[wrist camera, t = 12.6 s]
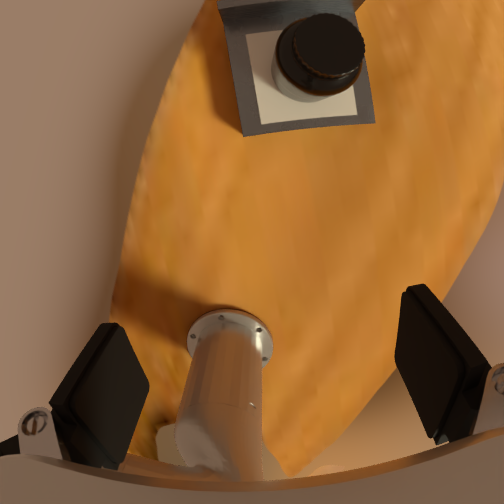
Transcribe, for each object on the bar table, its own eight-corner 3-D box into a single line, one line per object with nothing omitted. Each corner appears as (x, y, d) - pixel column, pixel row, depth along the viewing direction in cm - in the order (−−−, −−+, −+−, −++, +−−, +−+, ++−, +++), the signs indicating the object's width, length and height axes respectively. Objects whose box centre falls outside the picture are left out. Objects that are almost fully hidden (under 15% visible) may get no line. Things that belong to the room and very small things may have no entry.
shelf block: (363, 123, 32) (389, 123, 25) (245, 136, 34) (240, 137, 26) (343, 16, 27) (363, -9, 20) (225, 26, 28) (216, 1, 21)
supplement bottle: (272, 104, 28) (279, 89, 17) (268, 42, 26) (272, -3, 15) (340, 104, 28) (383, 94, 17) (335, 43, 25) (373, 4, 14)
